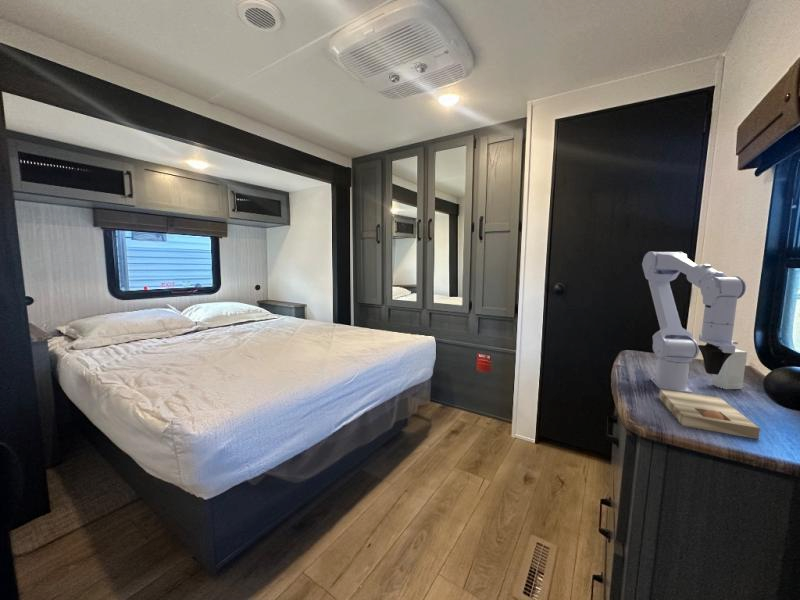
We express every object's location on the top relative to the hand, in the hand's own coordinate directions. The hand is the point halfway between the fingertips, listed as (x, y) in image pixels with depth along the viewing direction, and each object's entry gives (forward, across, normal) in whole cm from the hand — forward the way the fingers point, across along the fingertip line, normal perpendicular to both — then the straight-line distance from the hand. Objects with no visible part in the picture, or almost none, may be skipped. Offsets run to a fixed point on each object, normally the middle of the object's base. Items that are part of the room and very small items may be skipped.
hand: (711, 373), depth 84 cm
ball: (+8, -12, +4) cm, 15 cm away
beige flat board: (+9, -7, +4) cm, 12 cm away
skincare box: (+10, +22, -12) cm, 27 cm away
